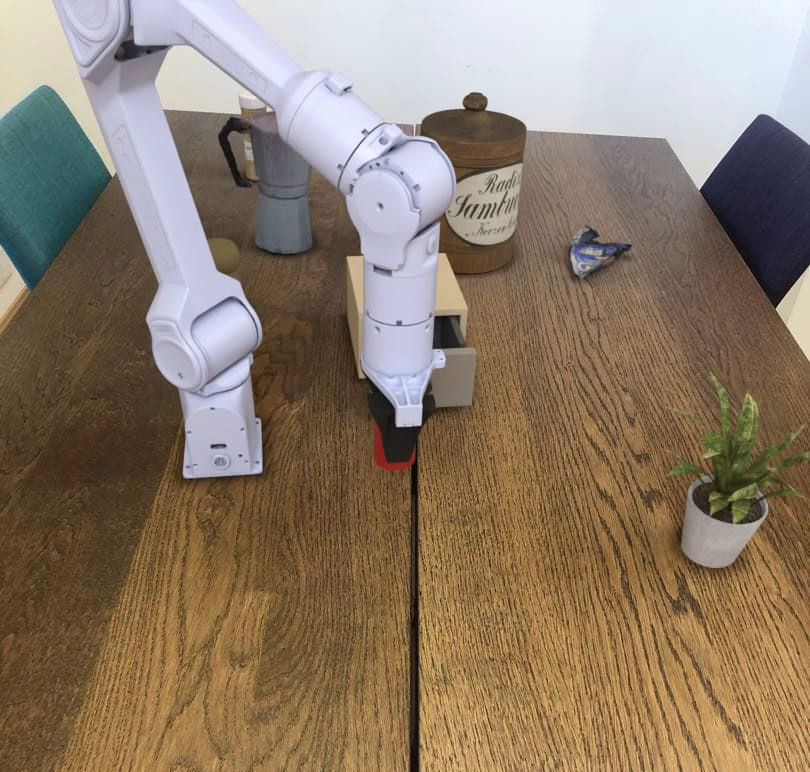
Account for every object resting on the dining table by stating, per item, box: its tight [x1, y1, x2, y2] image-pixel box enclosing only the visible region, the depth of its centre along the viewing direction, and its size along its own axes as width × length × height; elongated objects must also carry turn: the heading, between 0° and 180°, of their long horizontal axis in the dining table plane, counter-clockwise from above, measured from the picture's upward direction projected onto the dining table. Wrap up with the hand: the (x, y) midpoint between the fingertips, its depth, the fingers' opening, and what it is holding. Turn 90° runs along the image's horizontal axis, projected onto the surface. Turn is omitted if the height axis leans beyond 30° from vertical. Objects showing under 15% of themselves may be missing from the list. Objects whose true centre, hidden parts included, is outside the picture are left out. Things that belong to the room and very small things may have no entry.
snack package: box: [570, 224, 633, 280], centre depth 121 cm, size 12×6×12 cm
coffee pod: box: [373, 420, 417, 471], centre depth 74 cm, size 4×4×4 cm
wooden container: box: [419, 91, 528, 275], centre depth 116 cm, size 15×15×22 cm
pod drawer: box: [370, 315, 478, 408], centre depth 94 cm, size 15×11×7 cm
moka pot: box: [217, 110, 314, 255], centre depth 117 cm, size 10×15×20 cm, turn 112°
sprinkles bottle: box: [238, 89, 268, 182], centre depth 139 cm, size 5×5×14 cm
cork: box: [206, 237, 241, 283], centre depth 102 cm, size 6×6×11 cm
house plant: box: [658, 370, 810, 569], centre depth 73 cm, size 14×14×16 cm
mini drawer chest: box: [346, 253, 469, 379], centre depth 101 cm, size 15×13×9 cm
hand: (394, 445), depth 74 cm, fingers closed on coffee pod, 4 cm apart
